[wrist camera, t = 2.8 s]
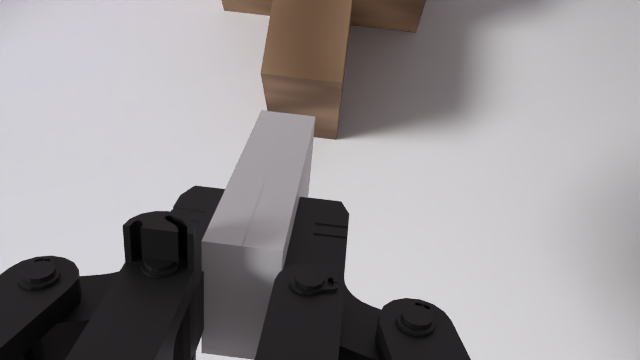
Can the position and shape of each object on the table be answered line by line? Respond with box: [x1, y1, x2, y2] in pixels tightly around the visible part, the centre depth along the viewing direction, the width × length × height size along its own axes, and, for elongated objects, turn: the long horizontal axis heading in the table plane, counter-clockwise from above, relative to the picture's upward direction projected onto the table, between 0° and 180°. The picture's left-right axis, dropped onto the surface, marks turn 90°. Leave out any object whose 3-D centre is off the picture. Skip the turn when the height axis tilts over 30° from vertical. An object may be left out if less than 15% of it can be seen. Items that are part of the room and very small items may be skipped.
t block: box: [222, 0, 426, 139], centre depth 31 cm, size 11×10×7 cm
